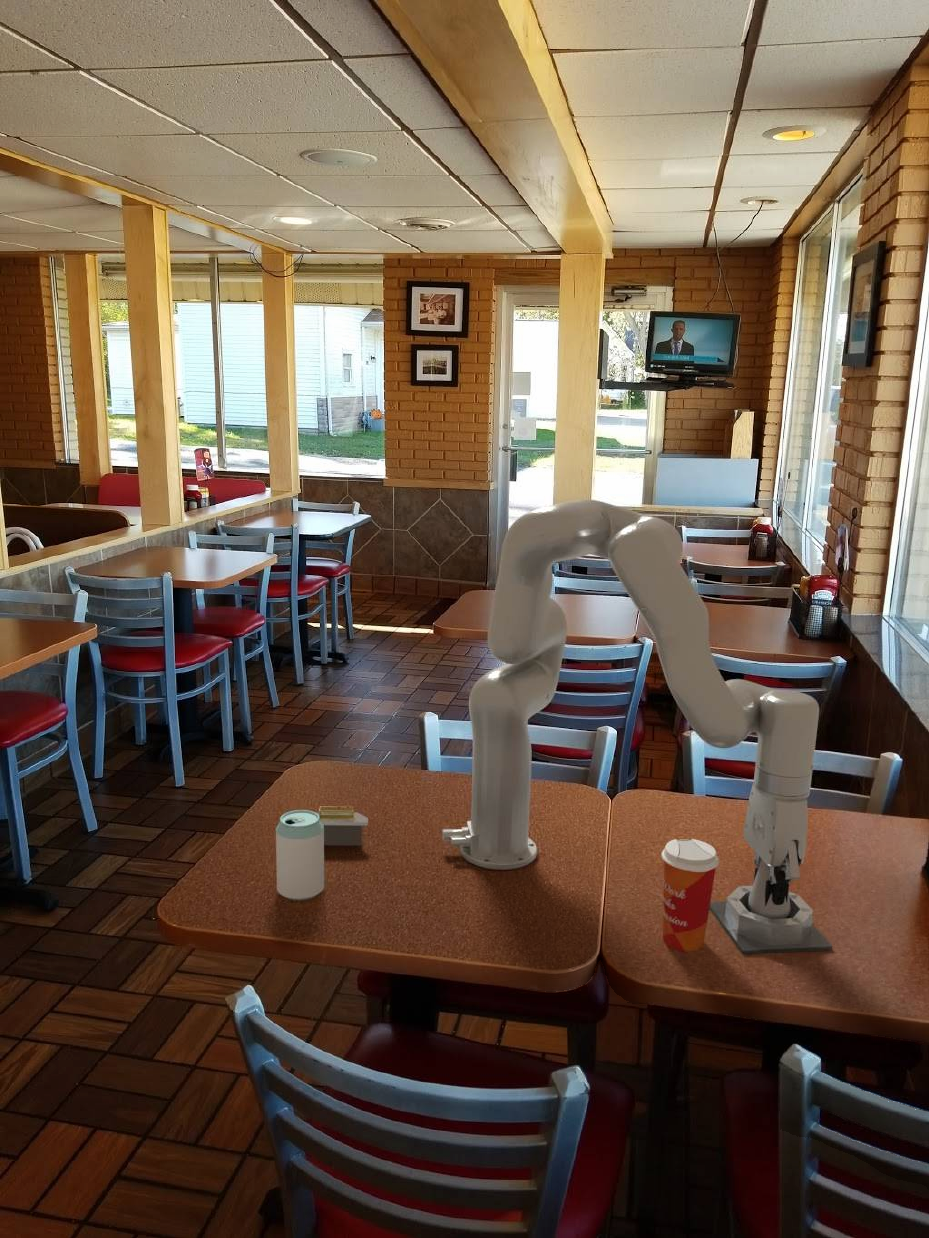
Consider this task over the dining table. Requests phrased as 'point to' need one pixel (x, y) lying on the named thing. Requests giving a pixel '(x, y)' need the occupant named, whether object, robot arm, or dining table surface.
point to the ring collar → (768, 926)
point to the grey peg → (758, 896)
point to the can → (300, 855)
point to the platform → (342, 826)
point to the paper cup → (687, 892)
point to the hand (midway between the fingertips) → (769, 898)
